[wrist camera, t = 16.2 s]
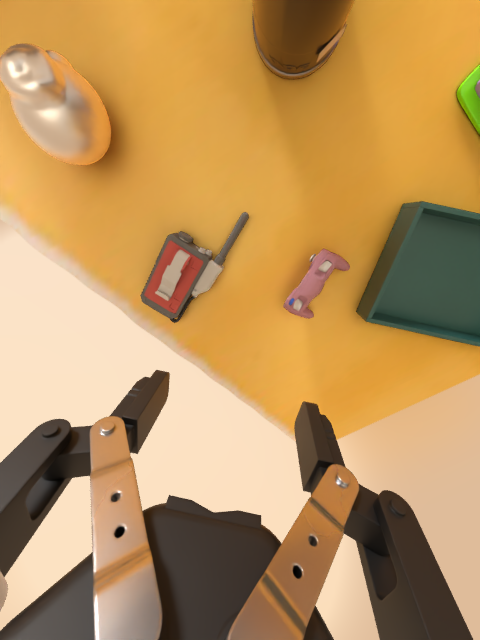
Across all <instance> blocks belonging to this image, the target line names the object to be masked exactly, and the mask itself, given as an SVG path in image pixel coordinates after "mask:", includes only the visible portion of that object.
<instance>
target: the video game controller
mask: <svg viewBox="0 0 480 640" xmlns="http://www.w3.org/2000/svg"><path fill="white" fill-rule="evenodd" d="M310 262H312V263H311V265H310V267H309V271H308V273H307V274H306V275H305V277H304V278H303V280H302V281H301V283H300V284H299V286H298V287H297V288H296V289H295V290H294V291H293V292H292V293H291V294H290V295H289V297H288V298H287V299H286V301H285V303H284V305H283V307H284V308H285V309H286V310H288V311H289V312H290V313H292V314H295V315H298V316H301V317H304V318H312V317H313V316H314V314H313V312H312V311H311V310H309V309H308V308H307V306H308V305H309V303H310V302H311V300H312V299H313V298H315V297H316V296H317V295H318V294H319V293H320V292H321V290H322V288H323V286H324V283H325V281H326V280H327V279H328V277H329V276H330V274H331V273H332V271H333V270H334V268H336V269H339V270H342V271H347V270H349V269H350V266H349V264H348V263H347V262H346V261H345V260H344V259H343V258H342V257H340V256H339V255H337V254H335V253H332V252H330V251H328V250H326V249H322V250H321V251H320V252H319V253H318V255H317V256H316V254H314V255H312V256H311V258H310Z"/></svg>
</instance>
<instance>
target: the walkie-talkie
mask: <svg viewBox="0 0 480 640" xmlns="http://www.w3.org/2000/svg"><path fill="white" fill-rule="evenodd" d="M248 218H249V215H248V213H246V212H244V213H242V215H241V216H240V218H239V220H238V222H237V223H236V225H235V227H234V229H233V231H232V232H231V234H230V236H229V238H228V239H227V241H226V243H225V245H224V246H223V248H222V250H221V252H220V253H219V254H218V255H217V256H216V258H215V260H213V259H212V255H211V253H212V251H210V250H208V249H207V250H205V249H204V248H202V247H201V248H199V247H198V246H196V245H195V244H193V243H192V241H193V238H192V237H191V236H190V235H188V234H187V233H185V232H182V231H180V232H179V234H178V233H174V234H170V235H168V236H167V238H166V241H165V243H164V245H163V247H162V249H161V252H160V254H159V256H158V258H157V260H156V264H155V265H154V268H153V270H152V271H151V274H150V277H149V279H148V280H147V283H146V286H145V288H144V289H143V292H142V294H141V299H142V302H143V303H145V304H146V305H148V306H149V307H151V308H153V309H155V310H156V311H158V312H160V313H161V314H163V315H165V316H166V317H168V318H170V320H171V321H172V322H174V323H175V322H178V321H179V320H180V319H181V317H182V315H183V313H184V312H185V310H186V308H187V306H188V305H189V303H190V301H191V300H193V299H194V298H196V297H197V296H198V295H199V294H200V293H203V292H206V291H208V290H210V288H211V287H212V285H213V284H214V282H215V280H216V279H217V277H218V275H219V274H220V273H221V272H222V271H223V269H224V267H223V266H222V264H223V263H224V261H225V257H226V255H227V254H228V252H229V250H230V249H231V247H232V245H233V244H234V242H235V240H236V239H237V237H238V235H239V233H240V232H241V230H242V228H243V227H244V225H245V223H246V222H247V220H248ZM192 294H193V295H192ZM191 295H192V297H191ZM190 297H191V298H190ZM178 316H179V317H178ZM176 317H178V319H174V318H176Z"/></svg>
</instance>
